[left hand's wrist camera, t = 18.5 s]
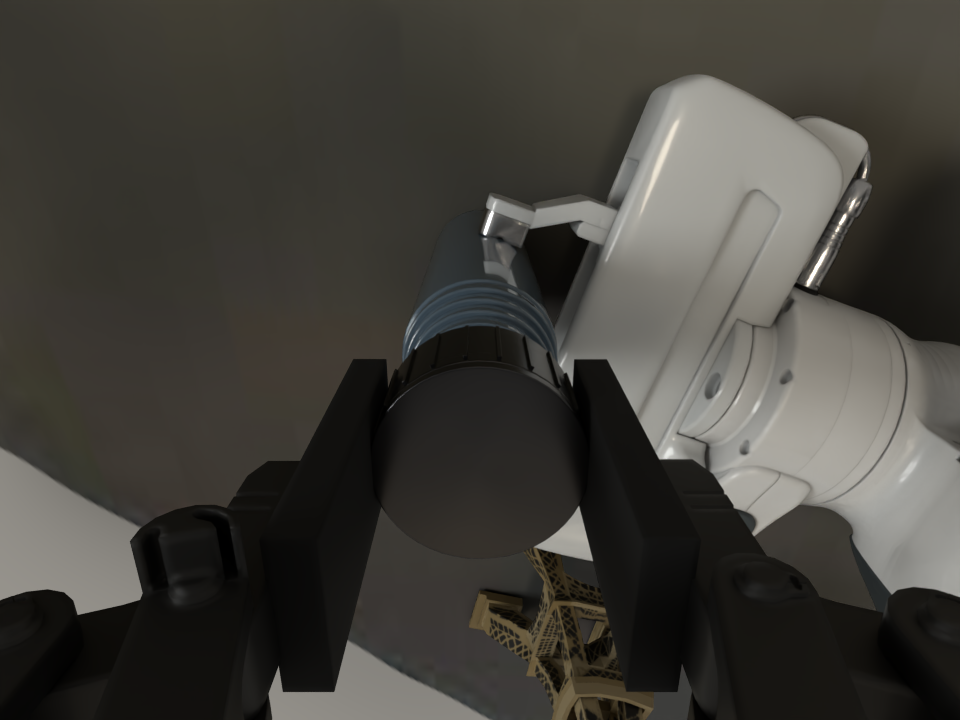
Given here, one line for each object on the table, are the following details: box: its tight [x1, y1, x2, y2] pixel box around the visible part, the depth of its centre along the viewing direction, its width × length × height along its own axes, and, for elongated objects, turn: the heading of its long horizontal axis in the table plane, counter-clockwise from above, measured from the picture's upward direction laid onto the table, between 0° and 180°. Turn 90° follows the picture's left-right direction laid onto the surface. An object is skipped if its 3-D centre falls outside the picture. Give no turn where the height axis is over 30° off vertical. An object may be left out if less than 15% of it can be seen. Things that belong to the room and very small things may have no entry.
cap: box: [371, 325, 590, 559], centre depth 13 cm, size 4×4×2 cm
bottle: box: [402, 210, 558, 363], centre depth 22 cm, size 5×5×20 cm
